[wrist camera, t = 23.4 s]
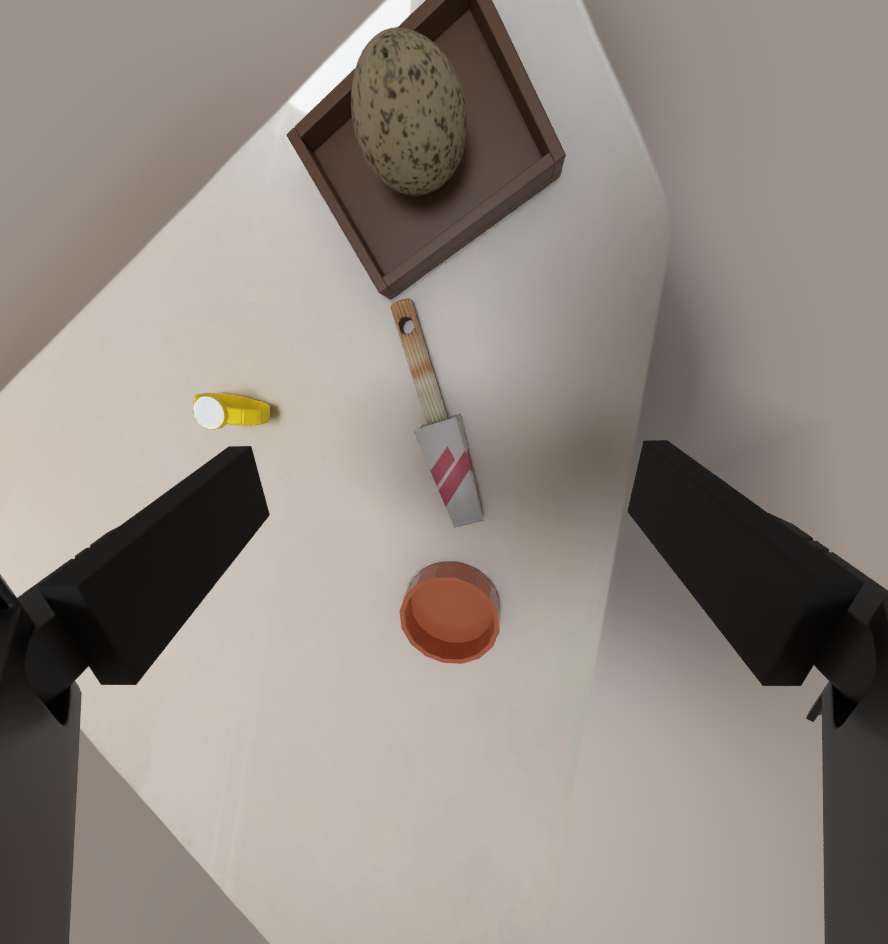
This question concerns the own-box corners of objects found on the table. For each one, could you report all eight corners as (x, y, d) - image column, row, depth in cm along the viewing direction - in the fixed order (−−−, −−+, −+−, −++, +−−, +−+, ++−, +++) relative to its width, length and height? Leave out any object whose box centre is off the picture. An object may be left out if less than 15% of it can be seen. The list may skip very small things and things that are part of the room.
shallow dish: (513, 581, 37) (513, 599, 35) (481, 655, 40) (479, 677, 38) (422, 548, 38) (415, 563, 35) (397, 622, 41) (389, 642, 38)
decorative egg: (450, 78, 27) (418, -82, 17) (488, 183, 28) (478, 89, 18) (363, 135, 28) (291, 20, 19) (403, 232, 30) (354, 169, 20)
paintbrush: (445, 534, 34) (375, 307, 30) (450, 523, 36) (386, 313, 33) (487, 525, 33) (419, 290, 30) (489, 515, 36) (427, 297, 32)
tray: (475, 0, 26) (471, -45, 23) (560, 176, 28) (566, 154, 25) (306, 156, 30) (285, 134, 27) (390, 299, 32) (379, 293, 29)
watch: (223, 412, 38) (173, 420, 32) (225, 384, 37) (173, 387, 31) (279, 426, 37) (238, 437, 31) (282, 398, 36) (240, 405, 31)
